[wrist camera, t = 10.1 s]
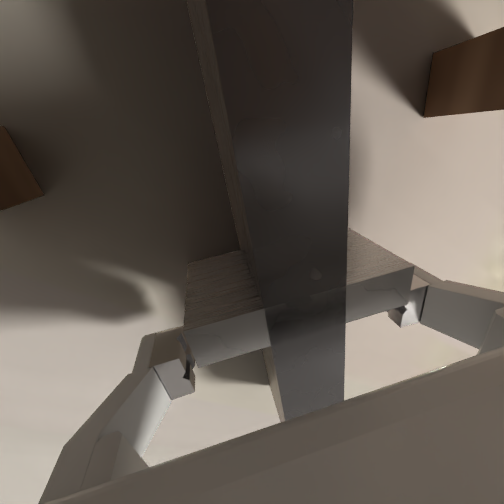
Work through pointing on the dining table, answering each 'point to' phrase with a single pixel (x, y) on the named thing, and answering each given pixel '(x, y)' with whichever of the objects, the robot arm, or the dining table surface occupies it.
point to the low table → (437, 104)
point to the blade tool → (285, 199)
